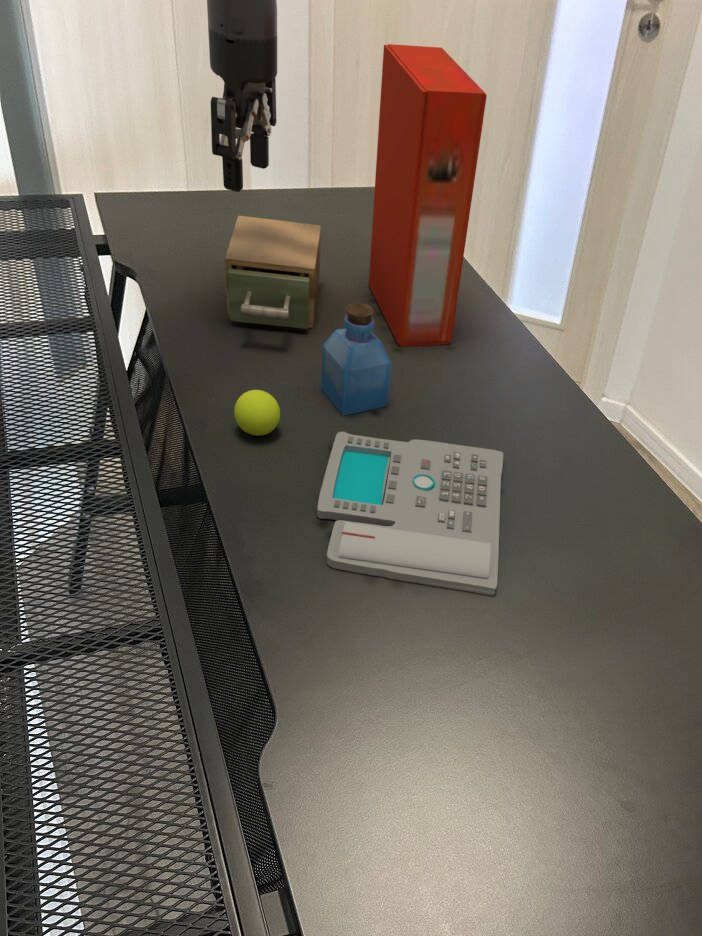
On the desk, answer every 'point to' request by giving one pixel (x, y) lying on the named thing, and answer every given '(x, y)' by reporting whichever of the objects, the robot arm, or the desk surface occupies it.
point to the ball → (257, 412)
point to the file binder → (423, 190)
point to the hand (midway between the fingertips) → (246, 178)
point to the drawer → (269, 297)
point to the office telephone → (414, 511)
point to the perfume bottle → (355, 364)
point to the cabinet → (277, 251)
